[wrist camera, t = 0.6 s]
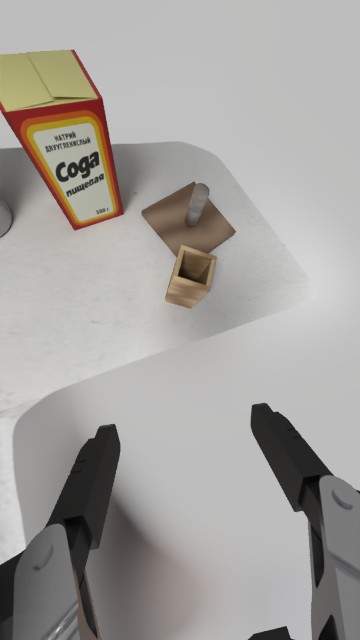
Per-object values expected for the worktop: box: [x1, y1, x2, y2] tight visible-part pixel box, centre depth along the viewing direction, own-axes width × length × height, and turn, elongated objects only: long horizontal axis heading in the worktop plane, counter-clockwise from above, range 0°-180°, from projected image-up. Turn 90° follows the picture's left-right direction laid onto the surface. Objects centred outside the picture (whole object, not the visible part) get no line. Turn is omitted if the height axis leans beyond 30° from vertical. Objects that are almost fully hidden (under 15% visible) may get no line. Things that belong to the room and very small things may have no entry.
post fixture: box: [142, 182, 236, 257], centre depth 31 cm, size 14×14×8 cm
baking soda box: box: [0, 50, 123, 230], centre depth 24 cm, size 10×6×16 cm
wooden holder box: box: [165, 245, 217, 308], centre depth 27 cm, size 5×5×10 cm
